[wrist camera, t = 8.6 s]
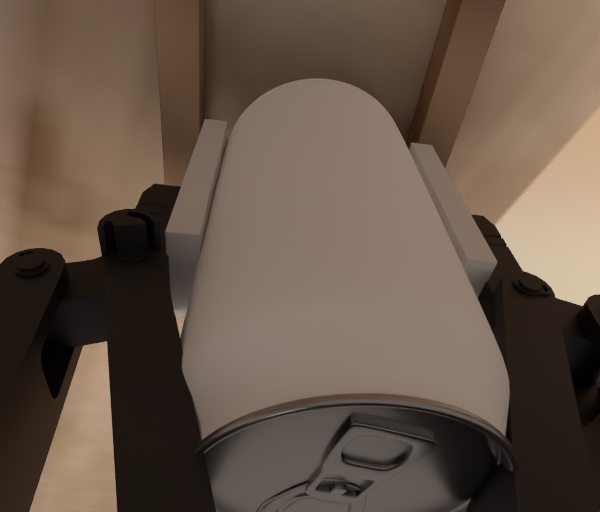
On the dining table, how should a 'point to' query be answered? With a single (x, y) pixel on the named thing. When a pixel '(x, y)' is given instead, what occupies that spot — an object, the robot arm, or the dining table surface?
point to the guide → (429, 113)
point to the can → (337, 322)
